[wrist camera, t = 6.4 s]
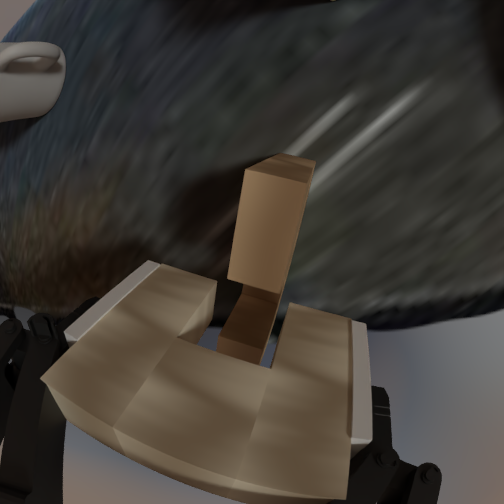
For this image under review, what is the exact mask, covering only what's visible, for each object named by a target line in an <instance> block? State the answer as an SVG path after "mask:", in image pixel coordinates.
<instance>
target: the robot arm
mask: <svg viewBox="0 0 504 504" xmlns="http://www.w3.org/2000/svg"><path fill="white" fill-rule="evenodd" d="M159 266H160V264H158V263H155V262H152V261H149V260H148V261H146V262H145V263H144V264H143V265H141V266H140V267H139V268H138V269H136V270H135V271H134V272H133V273H131V274H130V275H129V276H128V277H127V278H125V279H124V280H123V281H122V282H120V283H119V284H118V285H117V286H116V287H114V288H113V289H112V290H111V291H110V292H108V293H107V294H106V295H105V296H104V297H102V298H101V299H100V298H98V297H94V298H91V299H89V300H86V301H85V302H84V303H83V304H81V305H80V306H79V308H77V309H75V310H74V312H72V313H71V314H70V315H68V316H67V317H66V318H65V319H64V320H62V321H61V322H60V323H59V324H58V325H57V326H55V323H54V320H53V317H52V316H51V315H49V314H46V313H38V314H35V315H34V316H32V317H30V318H29V320H28V321H27V323H28V326H29V329H30V331H29V330H26V329H24V328H23V326H22V323H21V321H20V320H18V319H14V318H12V319H8V320H6V321H4V322H3V323H2V324H1V325H0V445H1V442H2V440H3V438H4V442H3V448H2V455H1V463H0V504H63V454H64V440H65V429H66V418H65V416H64V415H63V413H62V411H61V410H60V408H59V406H58V404H57V403H56V401H55V399H54V397H53V395H52V394H51V392H50V390H49V388H48V386H47V384H46V383H45V382H43V381H42V380H41V379H40V378H41V377H42V376H43V375H44V374H45V372H46V371H47V370H48V369H49V368H50V367H51V366H52V365H53V364H54V363H55V362H56V361H57V360H58V359H59V358H60V357H61V356H62V355H63V354H64V353H65V352H66V351H67V350H68V349H69V348H70V347H72V346H73V345H74V344H75V343H76V342H77V341H78V340H79V339H80V338H81V337H83V336H84V335H85V334H86V333H87V332H88V331H89V330H90V329H91V328H92V327H93V326H94V325H95V324H96V323H97V322H98V321H99V320H100V319H101V318H103V317H104V316H105V315H106V314H107V313H108V312H109V311H110V310H111V309H112V308H113V307H114V306H115V305H117V304H118V303H119V302H120V301H121V300H122V299H123V298H124V297H125V296H126V295H128V294H129V293H130V292H131V291H132V290H133V289H134V288H135V287H136V286H138V285H139V284H140V283H141V282H142V281H143V280H144V279H145V278H147V277H148V276H149V275H150V274H151V273H152V272H153V271H154V270H156V269H157V268H158V267H159ZM351 330H352V421H351V453H350V465H349V476H348V486H347V495H346V500H343V499H333V500H332V501H330V502H328V503H327V504H376V503H377V504H437V500H438V496H439V491H440V486H441V481H442V474H441V472H440V469H439V468H438V467H437V466H436V465H435V464H433V463H424V464H421V465H420V466H419V467H417V466H414V465H411V464H409V463H406V462H404V461H402V460H400V459H399V456H398V454H397V452H396V451H395V450H394V449H393V447H392V433H391V418H390V409H389V408H390V404H389V397H388V395H387V393H386V391H385V389H384V388H382V387H376V386H371V376H370V361H369V350H368V339H367V329H366V324H365V323H361V322H357V321H353V320H352V321H351ZM10 359H12V362H11V363H10V364H9V363H8V362H9V361H10Z"/></svg>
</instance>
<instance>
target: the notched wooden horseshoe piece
mask: <svg viewBox="0 0 504 504" xmlns="http://www.w3.org/2000/svg"><path fill="white" fill-rule="evenodd" d="M216 287H217V281H216V280H212V279H209V278H206V277H203V276H200V275H196V274H193V273H190V272H187V271H184V270H181V269H178V268H174V267H171V266H168V265H165V264H161V265H160V266H159V267H158V268H157V269H156V270H154V271H153V272H152V273H151V274H150V275H149V276H148V277H147V278H145V279H144V280H143V281H142V282H141V283H140V284H139V285H138V286H136V287H135V288H134V289H133V290H132V291H131V292H130V293H129V294H128V295H126V296H125V297H124V298H123V299H122V300H121V301H120V302H119V303H118V304H117V305H115V306H114V307H113V308H112V309H111V310H110V311H109V312H108V313H107V314H106V315H105V316H104V317H103V318H101V319H100V320H99V321H98V322H97V323H96V324H95V325H94V326H93V327H92V328H91V329H90V330H89V331H88V332H87V333H86V334H85V335H84V336H83V337H81V338H80V339H79V340H78V341H77V342H76V343H75V344H74V345H73V346H72V347H70V348H69V349H68V350H67V351H66V352H65V353H64V354H63V355H62V356H61V357H60V358H59V359H58V360H57V361H56V362H55V363H54V364H53V365H52V366H51V367H50V368H49V369H48V370H47V371H46V372H45V374H44V375H43V376H42V377H41V378H40V379H41V380H42V381H43V382H45V383H46V384H47V386H48V388H49V390H50V392H51V394H52V395H53V397H54V399H55V401H56V403H57V404H58V406H59V408H60V410H61V411H62V413H63V415H64V416H65V418H66V420H68V421H69V422H70V423H72V424H73V425H75V426H76V427H78V428H79V429H81V430H82V431H84V432H86V433H87V434H88V435H90V436H91V437H93V438H95V439H96V440H98V441H99V442H101V443H103V444H104V445H106V446H108V447H110V448H111V449H113V450H115V451H117V452H119V453H120V454H122V455H124V456H126V457H128V458H130V459H131V460H134V461H135V462H137V463H140V464H141V465H143V466H145V467H148V468H150V469H152V470H154V471H156V472H158V473H160V474H163V475H165V476H167V477H170V478H172V479H175V480H177V481H179V482H182V483H184V484H187V485H190V486H192V487H195V488H198V489H201V490H204V491H206V492H209V493H212V494H215V495H219V496H222V497H225V498H229V499H232V500H236V501H239V502H243V503H247V504H327V503H328V502H330V501H332V500H333V499H343V500H346V495H347V486H348V476H349V465H350V453H351V421H352V330H351V319H350V318H346V317H342V316H339V315H335V314H331V313H327V312H323V311H320V310H316V309H312V308H309V307H305V306H301V305H298V304H294V303H291V302H290V304H289V307H288V310H287V313H286V317H285V320H284V323H283V326H282V329H281V332H280V335H279V338H278V342H277V345H276V349H275V352H274V356H273V359H272V362H271V366H270V369H269V368H266V367H262V366H259V365H256V364H252V363H249V362H246V361H243V360H239V359H236V358H233V357H230V356H227V355H224V354H221V353H218V352H215V351H212V350H209V349H207V348H204V347H201V346H198V345H197V343H198V341H199V340H200V338H201V337H202V335H203V333H204V332H205V330H206V328H207V327H208V325H209V324H210V322H211V320H212V317H213V310H214V302H215V294H216Z"/></svg>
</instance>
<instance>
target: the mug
mask: <svg viewBox="0 0 504 504" xmlns="http://www.w3.org/2000/svg"><path fill="white" fill-rule="evenodd" d="M65 74H66V60H65V56H64V53H63V51H62V50H61V48H59V47H58V46H56V45H54V44H51V43H46V42H22V43H0V122H5V121H10V120H16V119H24V118H33V117H39V116H42V115H44V114H46V113H47V112H48V111H50V110H51V108H52V107H53V106H54V105H55V103H56V101H57V100H58V98H59V95H60V93H61V91H62V87H63V84H64V80H65Z"/></svg>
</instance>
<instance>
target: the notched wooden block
mask: <svg viewBox="0 0 504 504" xmlns="http://www.w3.org/2000/svg"><path fill="white" fill-rule="evenodd" d="M315 163H316V161H313V160H309V159H305V158H301V157H296V156H292V155H288V154H283V153H279V154H277V155H275V156H273V157H270V158H268V159H266V160H264V161H262V162H260V163H257V164H255V165H253V166H251V167H249V168H247V169H245V174H244V180H243V186H242V191H241V197H240V203H239V209H238V215H237V221H236V227H235V233H234V239H233V245H232V251H231V257H230V264H229V270H228V276H227V279H229V280H233V281H236V282H240V283H243V289H242V294H241V296H240V297H239V299H238V301H237V303H236V305H235V307H234V308H233V310H232V312H231V314H230V316H229V318H228V319H227V321H226V323H225V325H224V327H223V329H222V330H221V332H220V334H219V336H218V343H217V350H216V352H218V353H221V354H224V355H227V356H230V357H233V358H236V359H239V360H243V361H246V362H249V363H252V364H256V365H259V366H260V363H261V360H262V357H263V355H264V351H265V349H266V346H267V342H268V339H269V336H270V333H271V330H272V327H273V324H274V321H275V317H276V314H277V310H278V307H279V303H280V300H281V296H282V293H283V289H284V286H285V282H286V278H287V275H288V271H289V267H290V264H291V260H292V256H293V252H294V249H295V245H296V241H297V237H298V233H299V229H300V225H301V221H302V218H303V214H304V209H305V205H306V201H307V197H308V193H309V189H310V185H311V181H312V176H313V172H314V168H315Z"/></svg>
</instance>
